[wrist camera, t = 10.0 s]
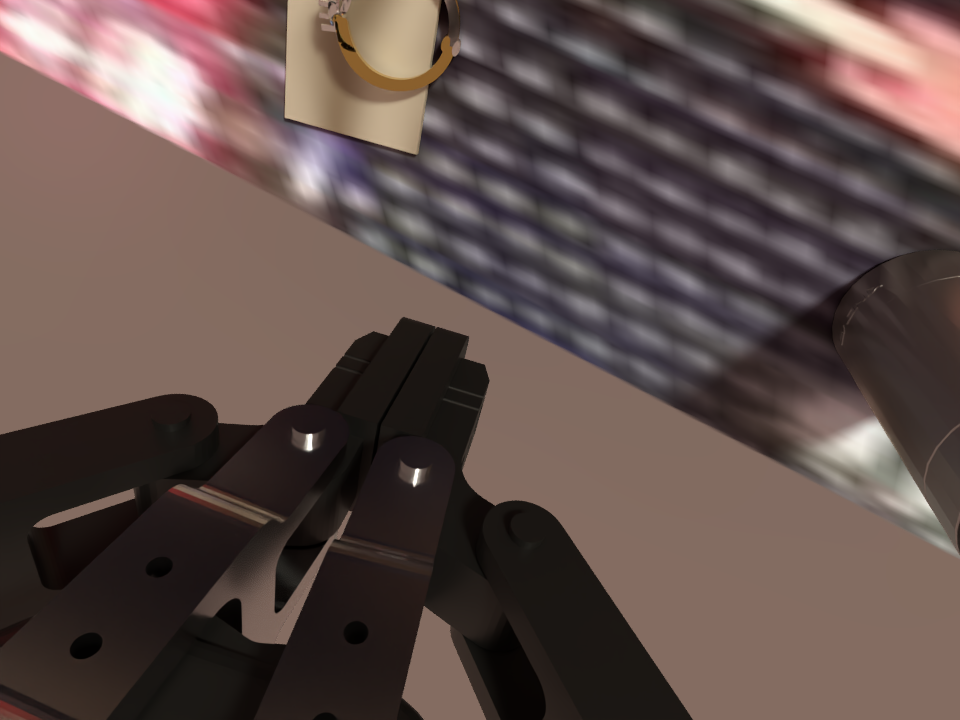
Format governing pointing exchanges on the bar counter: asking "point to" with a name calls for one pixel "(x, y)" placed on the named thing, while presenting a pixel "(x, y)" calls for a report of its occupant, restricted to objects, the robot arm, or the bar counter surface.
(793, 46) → the bar counter surface
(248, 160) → the bar counter surface
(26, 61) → the bar counter surface
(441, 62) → the ring
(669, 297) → the bar counter surface
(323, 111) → the birch board
